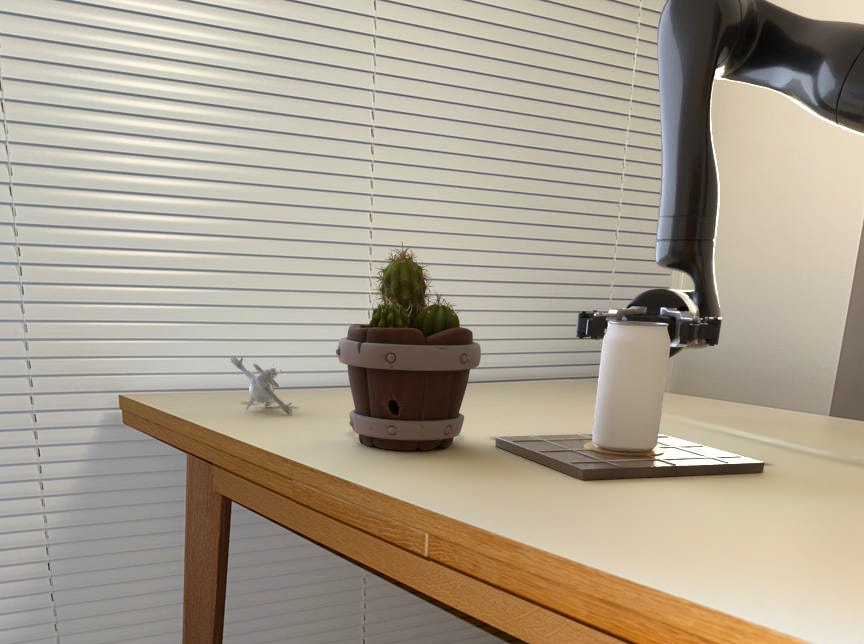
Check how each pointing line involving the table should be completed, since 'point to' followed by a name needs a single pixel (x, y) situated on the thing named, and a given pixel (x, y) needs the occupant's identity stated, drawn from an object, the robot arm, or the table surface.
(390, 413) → the flowerpot
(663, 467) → the board
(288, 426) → the table surface
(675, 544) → the table surface
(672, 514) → the table surface
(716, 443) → the table surface
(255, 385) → the spiky grey figurine
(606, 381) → the can
